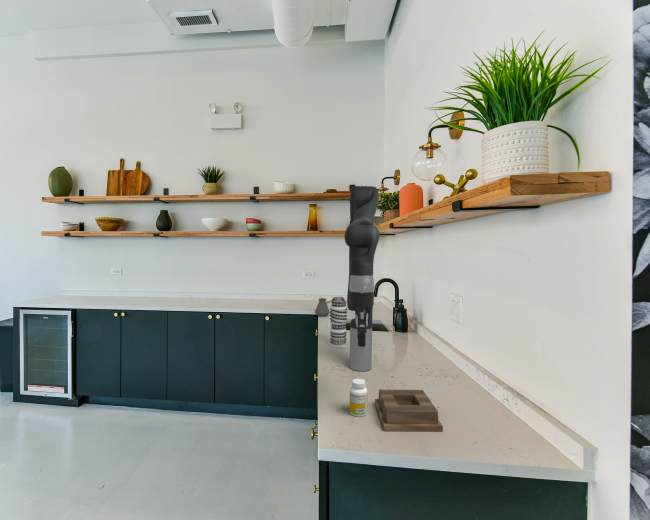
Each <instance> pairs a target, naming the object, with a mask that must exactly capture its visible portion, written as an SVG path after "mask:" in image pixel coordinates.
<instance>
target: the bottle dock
mask: <svg viewBox="0 0 650 520" xmlns="http://www.w3.org/2000/svg"><path fill="white" fill-rule="evenodd" d="M374 405H375V408H376V410H377V413H378V417H379V420H380V423H381V425H382V429H383V432H417V433H418V432H426V433H427V432H434V433H435V432H437V433H438V432H439V433H441V432H444V426H443V423H441V422H440V420H439V411H438V409H437V408H436V406H435V405H434V404H433V402H432V401H431V400H430V398H429V397H428V396H427V394H426V392H425V391H424V389H381V388H379V389H378V398H374Z"/></svg>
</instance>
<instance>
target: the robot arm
mask: <svg viewBox="0 0 650 520" xmlns="http://www.w3.org/2000/svg"><path fill="white" fill-rule="evenodd" d="M379 197H380V196H379V190H378V188H377V187H376V186H374V185H373V186H372V185H369V186H368V185H354V186H352V187H351V188H350V192H349V217H350V218H349V219H350V221H349V222H350V224H349V225H348V226H347V227H346V230H345V232H344V242H345V245H346V246H348V284H347V293H346V295H347V296H346V308H347V309H348V310H349V311H351V312H354V318H352V319H351V320H350V321H349V322H350V323H349V326H350V327H349V329H350V330H349V368H350V369H351V370H353V371H357V372H368V371H370V370H372V366H373V364H372V363H373V359H372V357H373V355H372V354H373V312H374V310H373V309H374V305H375V282H374V259H375V254H376V251H377V247H378V244H379V241H380V231H379V229H378V227H377V226H376V225H375V216H376V212H377V209H378V206H379V200H380V199H379Z"/></svg>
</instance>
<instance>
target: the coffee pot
mask: <svg viewBox="0 0 650 520" xmlns="http://www.w3.org/2000/svg"><path fill="white" fill-rule="evenodd" d="M317 300H318V304H317V305H316V308H315V311H314V314H315V315H317V317H327V316H329V315H330V311H331V310H330V308H329V307H328V304H329V303H332V301H331V300H329V301H327V298H324V297H323V298H320V297H319V298H318V299H317Z"/></svg>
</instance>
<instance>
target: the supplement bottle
mask: <svg viewBox="0 0 650 520" xmlns="http://www.w3.org/2000/svg"><path fill="white" fill-rule="evenodd" d="M348 410H349V413H350V415H352V416H353V417H365V416H366V415H367V414H368V389H367V387H366V380H365V379H362V378H354V379H352V380H351V387H350V388H349V409H348Z"/></svg>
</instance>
